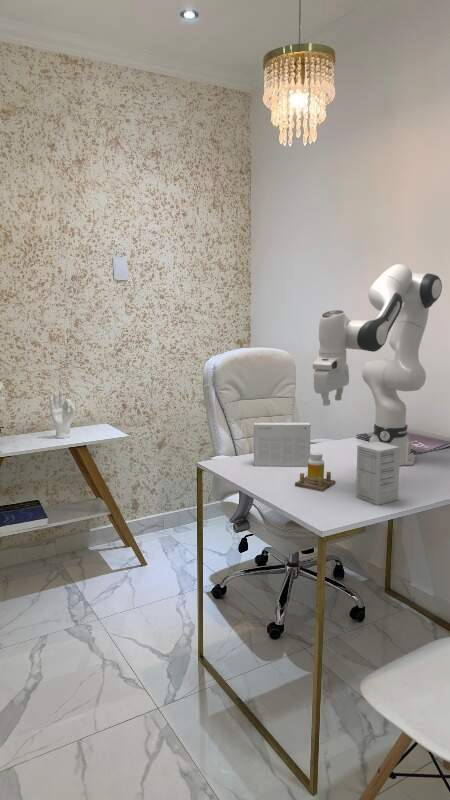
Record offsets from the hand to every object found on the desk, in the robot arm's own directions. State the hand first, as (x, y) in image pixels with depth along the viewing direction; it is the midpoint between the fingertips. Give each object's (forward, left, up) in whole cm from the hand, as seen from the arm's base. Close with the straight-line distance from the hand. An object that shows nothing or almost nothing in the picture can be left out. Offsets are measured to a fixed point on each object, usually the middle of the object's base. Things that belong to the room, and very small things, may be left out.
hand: (332, 402), depth 184 cm
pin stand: (+5, -3, -27) cm, 28 cm away
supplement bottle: (+5, -3, -27) cm, 27 cm away
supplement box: (+7, +18, -28) cm, 34 cm away
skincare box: (-10, -24, -28) cm, 38 cm away
